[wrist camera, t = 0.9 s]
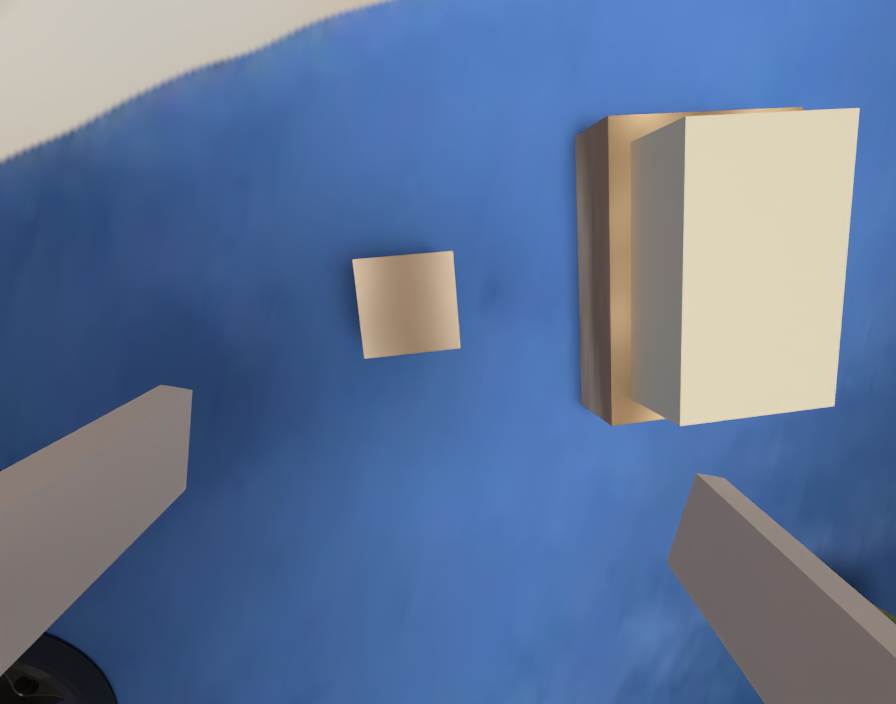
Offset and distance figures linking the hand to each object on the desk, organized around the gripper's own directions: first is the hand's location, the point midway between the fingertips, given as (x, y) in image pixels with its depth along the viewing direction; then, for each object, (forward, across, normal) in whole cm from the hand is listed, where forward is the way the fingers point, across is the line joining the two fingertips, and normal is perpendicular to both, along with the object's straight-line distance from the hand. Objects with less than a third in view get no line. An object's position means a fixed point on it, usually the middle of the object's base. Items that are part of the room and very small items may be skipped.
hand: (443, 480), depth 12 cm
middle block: (+18, -15, -7) cm, 24 cm away
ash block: (+20, +3, -2) cm, 20 cm away
